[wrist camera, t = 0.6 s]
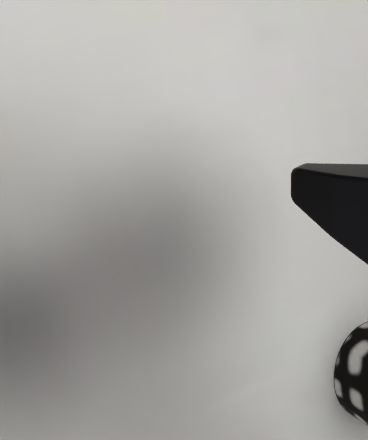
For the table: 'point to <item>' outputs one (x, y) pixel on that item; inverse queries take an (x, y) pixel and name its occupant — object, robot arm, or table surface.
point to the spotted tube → (353, 374)
